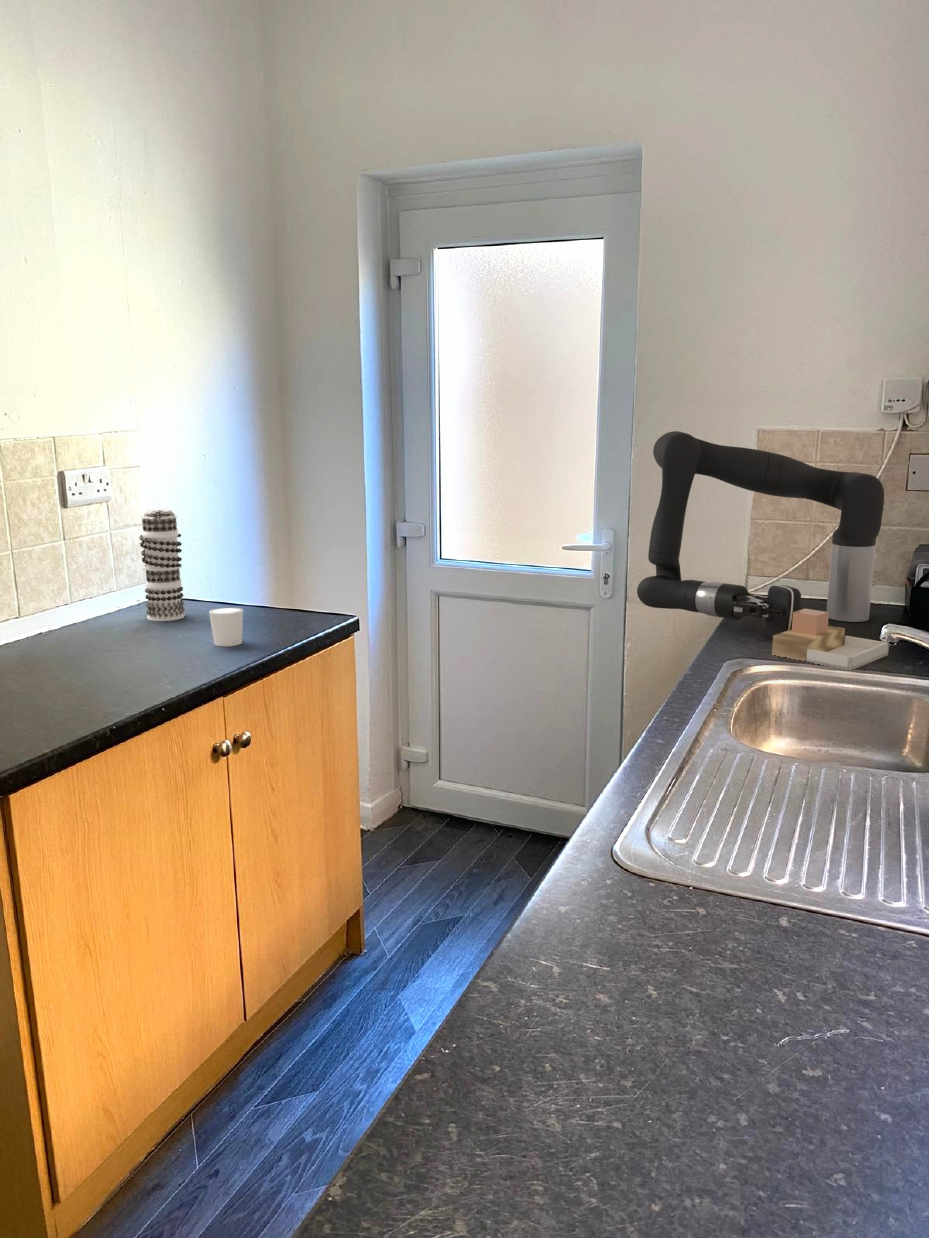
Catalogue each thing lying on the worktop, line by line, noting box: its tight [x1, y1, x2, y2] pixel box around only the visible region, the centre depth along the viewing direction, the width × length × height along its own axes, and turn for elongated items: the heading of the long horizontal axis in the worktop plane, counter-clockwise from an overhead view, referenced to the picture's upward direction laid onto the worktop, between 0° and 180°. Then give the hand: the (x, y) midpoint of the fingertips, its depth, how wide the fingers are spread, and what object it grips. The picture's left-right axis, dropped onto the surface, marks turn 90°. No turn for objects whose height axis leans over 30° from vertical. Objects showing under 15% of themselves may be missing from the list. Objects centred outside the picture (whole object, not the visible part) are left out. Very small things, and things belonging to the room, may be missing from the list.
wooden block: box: [771, 625, 846, 662], centre depth 191 cm, size 16×7×4 cm, turn 134°
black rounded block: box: [763, 584, 802, 640], centre depth 199 cm, size 7×4×11 cm, turn 22°
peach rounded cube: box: [792, 608, 830, 636], centre depth 190 cm, size 5×5×4 cm
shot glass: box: [208, 607, 244, 647], centre depth 198 cm, size 7×7×7 cm
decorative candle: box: [138, 508, 185, 622], centre depth 221 cm, size 9×9×25 cm
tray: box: [806, 635, 890, 672], centre depth 185 cm, size 17×9×2 cm, turn 134°
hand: (794, 611), depth 197 cm, fingers closed on black rounded block, 5 cm apart
